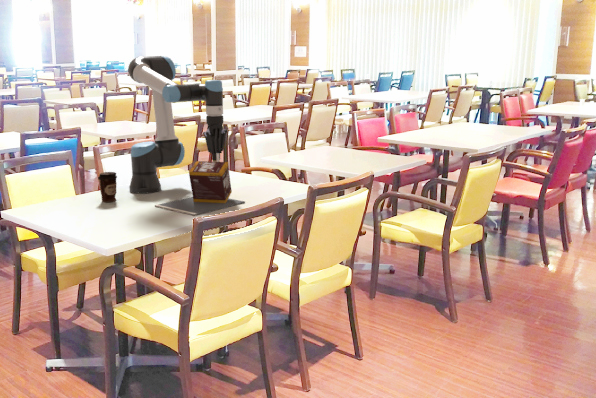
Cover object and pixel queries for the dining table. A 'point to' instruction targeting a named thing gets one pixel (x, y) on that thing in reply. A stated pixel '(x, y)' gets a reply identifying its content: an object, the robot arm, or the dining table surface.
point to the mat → (196, 206)
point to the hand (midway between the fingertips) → (216, 167)
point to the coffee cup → (108, 186)
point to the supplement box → (210, 182)
